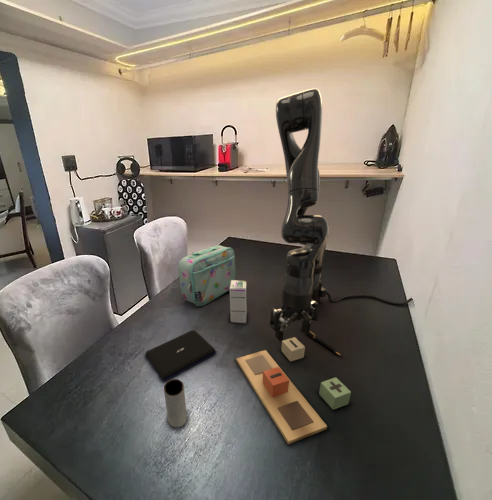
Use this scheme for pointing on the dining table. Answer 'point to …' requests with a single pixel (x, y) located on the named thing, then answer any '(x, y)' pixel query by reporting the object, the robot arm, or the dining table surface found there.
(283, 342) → the cream slotted cube
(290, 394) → the wood board
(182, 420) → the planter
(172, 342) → the laptop
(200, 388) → the dining table surface
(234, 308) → the syrup box
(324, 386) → the green plus block
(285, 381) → the orange slotted cube
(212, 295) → the lunch box
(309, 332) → the fountain pen
